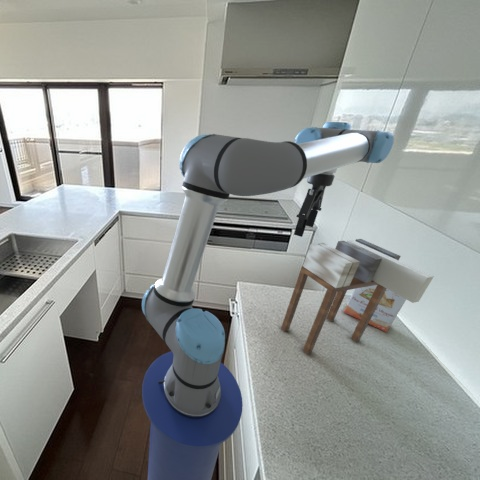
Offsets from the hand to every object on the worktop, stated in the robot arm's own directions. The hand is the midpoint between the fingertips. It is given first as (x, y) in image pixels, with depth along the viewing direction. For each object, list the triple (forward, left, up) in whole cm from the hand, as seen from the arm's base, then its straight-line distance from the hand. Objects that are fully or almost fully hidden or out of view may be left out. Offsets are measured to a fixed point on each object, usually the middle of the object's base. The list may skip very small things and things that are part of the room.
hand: (303, 230), depth 95 cm
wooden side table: (+10, -17, -32) cm, 37 cm away
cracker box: (+30, -2, -32) cm, 44 cm away
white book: (+17, -19, -6) cm, 26 cm away
